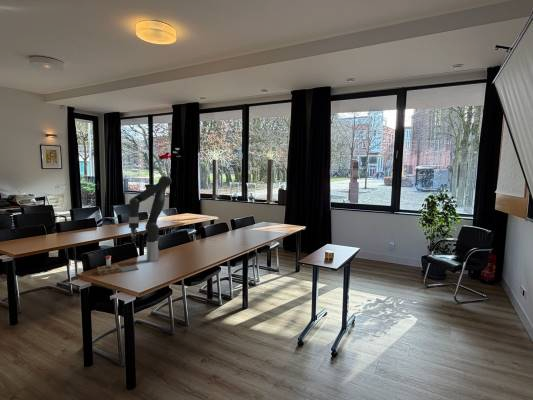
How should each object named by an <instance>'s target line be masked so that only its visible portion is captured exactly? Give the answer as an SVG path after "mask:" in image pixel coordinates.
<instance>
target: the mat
mask: <svg viewBox="0 0 533 400" xmlns="http://www.w3.org/2000/svg"><path fill="white" fill-rule="evenodd" d="M119 267H120V273H127V272H132V271H139V267H137V266H136V264H134V265H133V264H132V265H127V266H119Z"/></svg>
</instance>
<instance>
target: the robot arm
mask: <svg viewBox="0 0 533 400" xmlns="http://www.w3.org/2000/svg"><path fill="white" fill-rule="evenodd" d="M172 181H173V180H172V178H171V177H170V176H167V175H162V176H160V177H159V179H158V182H157V183H155V184H153V185H152V186H150V187H148V188H146V189H145V190H143V191H141V192H140V193H139V194H137V195H135V196H133V197H131V198H130V199H129V202H128V204H129V206H130V210H129V215H128V216H129V218H128V228H129V229H130V237H131V242H132V243H136V242H137V238H138V234H137V233H138V230H137V229H138V228H140V227H139V226H140V224H139V223H140V219H139V211H140V210H139V209H140V203H142V202H145V201H147V200H148V199H149V198H151V197H152V196H153V195H155V196H154V198H153V202H152V205H151V209H150V212H149V217H148V220H147V221H146V225H145V227H144V229H145V231H146V232H147V237H146V262H148V263H154V262H158V261H159V260H160V259H159V258H160V254H159V253H160V250H159V240H158V239H159V234H160V233H159V231H160V230H159V225H158V224H157V222H158V218H159V217H160V215H161V213H162V212H163V209H164V205H165V200H166V190H167V187H169V186H171V185H172Z"/></svg>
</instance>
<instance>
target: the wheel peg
mask: <svg viewBox="0 0 533 400" xmlns="http://www.w3.org/2000/svg"><path fill="white" fill-rule="evenodd" d="M111 259H112V255H106V256H105V260H106V265H105V266H107V268H111V265H112V260H111Z"/></svg>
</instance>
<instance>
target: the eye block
mask: <svg viewBox="0 0 533 400" xmlns="http://www.w3.org/2000/svg"><path fill="white" fill-rule="evenodd" d="M120 267H121V266H119V265H118V264H117V263H116V264H115V263H114V264H111V268H107V266H106V265H103V266H97V267H96V270H97V271H96V272H97V274H98V275H99V276H105V275H106V276H107V275H112V274H119V273H121V271H120Z"/></svg>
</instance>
